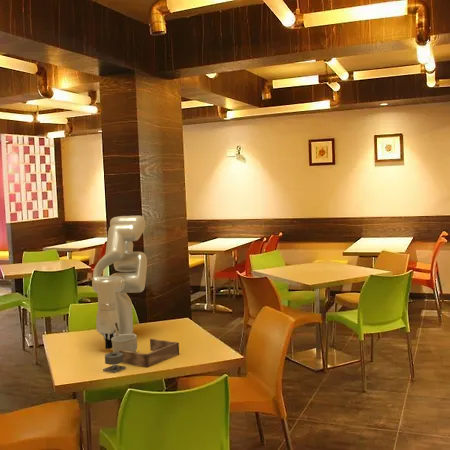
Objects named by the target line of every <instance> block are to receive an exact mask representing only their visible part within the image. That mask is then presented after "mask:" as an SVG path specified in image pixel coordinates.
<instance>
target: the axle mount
mask: <svg viewBox="0 0 450 450" xmlns="http://www.w3.org/2000/svg"><path fill="white" fill-rule="evenodd" d="M126 369H127V366H123V365H119V364H113V365H109V366H108V367H105V368H102V370H103V372H109V373H112V374H115V373H117V372H118V373H119V372H121V371H123V370H126Z"/></svg>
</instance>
